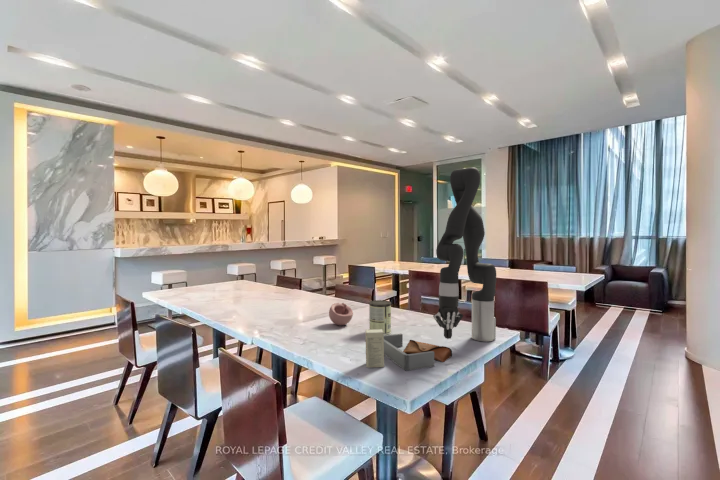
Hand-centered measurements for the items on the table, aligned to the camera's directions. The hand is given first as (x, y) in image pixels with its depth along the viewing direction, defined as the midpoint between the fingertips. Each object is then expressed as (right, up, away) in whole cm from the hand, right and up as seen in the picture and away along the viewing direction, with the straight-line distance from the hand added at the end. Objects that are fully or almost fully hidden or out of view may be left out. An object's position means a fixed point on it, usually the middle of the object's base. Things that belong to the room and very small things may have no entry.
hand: (447, 338), depth 139 cm
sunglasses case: (-9, -6, -4) cm, 12 cm away
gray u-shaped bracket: (-18, -5, -7) cm, 20 cm away
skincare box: (-29, -5, -15) cm, 34 cm away
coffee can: (-25, -5, +26) cm, 36 cm away
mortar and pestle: (-44, -4, +39) cm, 59 cm away
